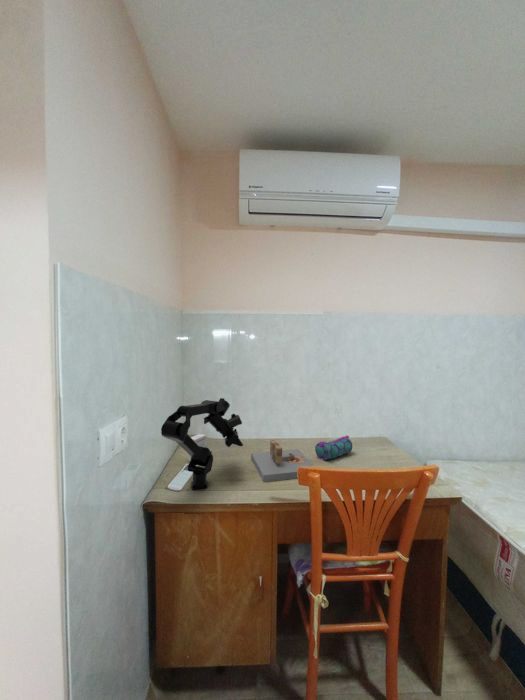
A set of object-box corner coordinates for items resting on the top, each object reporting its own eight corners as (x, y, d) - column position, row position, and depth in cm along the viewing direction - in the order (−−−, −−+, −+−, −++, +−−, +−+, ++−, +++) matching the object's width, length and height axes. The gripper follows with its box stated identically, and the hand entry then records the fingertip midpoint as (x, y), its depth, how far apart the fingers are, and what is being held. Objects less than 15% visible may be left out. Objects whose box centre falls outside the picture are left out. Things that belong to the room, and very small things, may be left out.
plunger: (297, 463, 131) (297, 447, 131) (276, 465, 128) (277, 448, 128) (289, 454, 142) (289, 438, 141) (269, 455, 139) (270, 440, 139)
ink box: (199, 455, 146) (200, 433, 146) (206, 457, 143) (207, 434, 143) (187, 460, 139) (188, 437, 138) (194, 463, 136) (195, 439, 136)
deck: (317, 475, 127) (317, 469, 127) (263, 482, 120) (263, 475, 120) (297, 454, 150) (297, 449, 150) (251, 458, 143) (251, 452, 143)
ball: (290, 462, 135) (292, 467, 135) (296, 460, 135) (297, 465, 136) (288, 459, 137) (290, 465, 138) (294, 457, 138) (295, 463, 139)
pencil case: (326, 463, 140) (327, 445, 140) (314, 457, 147) (314, 439, 147) (353, 455, 152) (353, 437, 151) (340, 449, 159) (340, 433, 159)
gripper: (234, 415, 118) (258, 440, 121) (229, 405, 136) (251, 426, 139) (215, 434, 117) (240, 458, 119) (213, 421, 135) (235, 442, 138)
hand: (242, 445), depth 129 cm, fingers closed
